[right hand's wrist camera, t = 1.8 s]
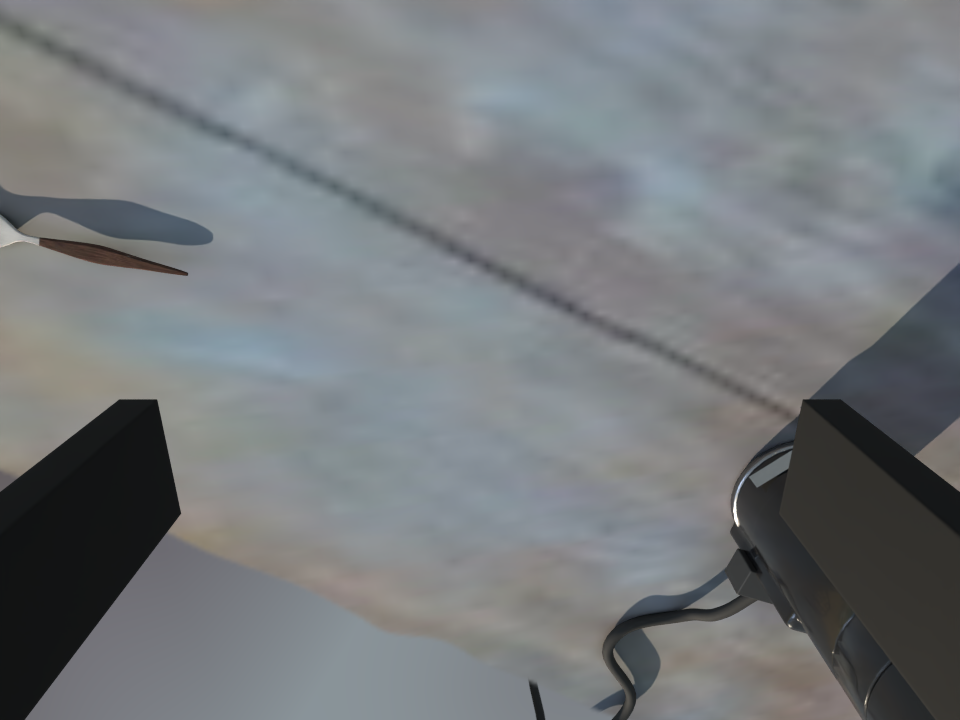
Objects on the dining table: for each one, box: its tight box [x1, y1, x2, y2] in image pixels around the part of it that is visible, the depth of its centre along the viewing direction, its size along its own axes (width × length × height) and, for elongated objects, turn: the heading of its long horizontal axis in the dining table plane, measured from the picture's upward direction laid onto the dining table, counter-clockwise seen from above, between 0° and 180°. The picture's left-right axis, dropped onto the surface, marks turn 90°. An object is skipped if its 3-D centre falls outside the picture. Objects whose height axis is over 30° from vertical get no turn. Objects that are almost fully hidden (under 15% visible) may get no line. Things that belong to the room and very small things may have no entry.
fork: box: [0, 214, 188, 276], centre depth 38 cm, size 3×16×2 cm, turn 77°
